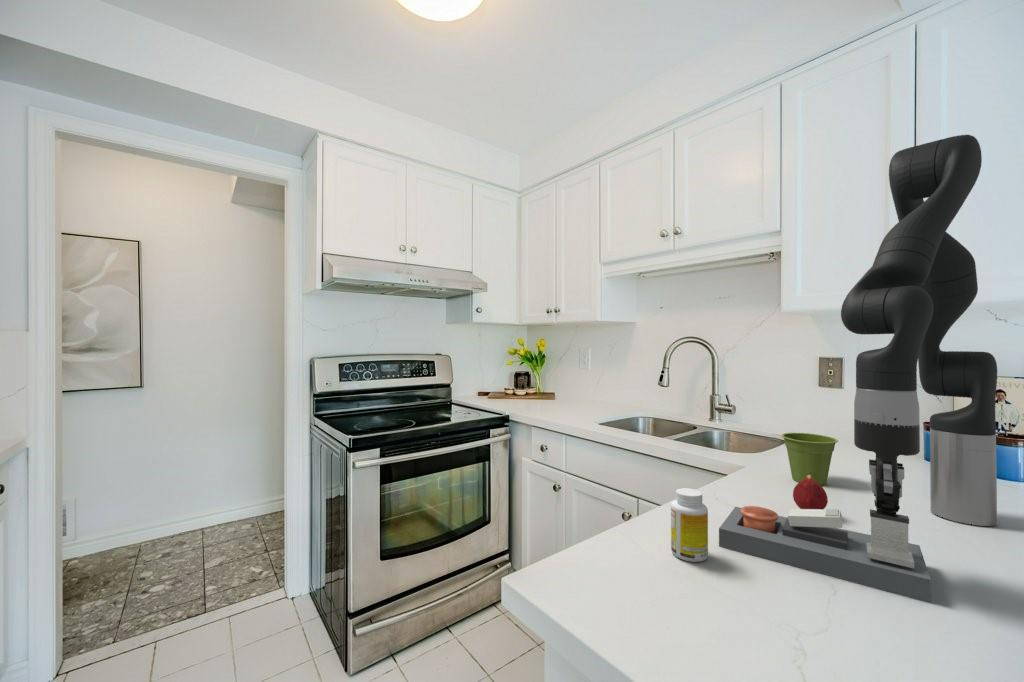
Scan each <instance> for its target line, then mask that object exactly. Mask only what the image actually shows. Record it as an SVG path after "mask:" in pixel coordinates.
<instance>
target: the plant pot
mask: <svg viewBox="0 0 1024 682" xmlns="http://www.w3.org/2000/svg"><path fill="white" fill-rule="evenodd" d="M781 437H782V438H783V440H784V444H785V447H786V452H787V456H788V462H789V467H790V475H791V479H792V480H793V481H795V482H797V483H799V482H801V481H803V480H805V479H806V478H807V476H808V475H811V476H812V477H813V480H814V481H815V482H817V483H818V484H820V485H821V486H824V485H825V484H827V482H828V478H829V473H830V467H831V462H832V457H833V452H834V451H835V446H836V444H837V443H838V442H839V440H838V438H835V437H831V436H828V435H822V434H815V433H808V432H807V433H804V432H785V433H781Z"/></svg>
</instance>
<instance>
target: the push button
mask: <svg viewBox="0 0 1024 682" xmlns="http://www.w3.org/2000/svg"><path fill="white" fill-rule="evenodd" d="M740 508H741V514H742V515H743V516H744V527H748V528H752V529H756V530H760V531H765V532H769V533H773V534H775V521H777V520H778V516H779V513H777V512H776V511H774V510H772V509H769V508H766V507H761V506H758V505H757V506H755V505H746V506H742V507H740Z"/></svg>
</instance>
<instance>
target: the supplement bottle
mask: <svg viewBox="0 0 1024 682" xmlns="http://www.w3.org/2000/svg"><path fill="white" fill-rule="evenodd" d="M708 511H709V510H708V507H707V505H706V504H704V503H703V493H702V492H701V491H700V490H697V489H693V488H688V487H687V488H686V487H682V488H678V489H676V490H675V500H673V501H672V502H671V504H670V550H671V552H672V553H673V555H674V556H675V557H677V558H678V559H681V560H682V561H686V562H691V563H700V562H703V561H705V560H707V558H708V557H709V513H708Z"/></svg>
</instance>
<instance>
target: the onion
mask: <svg viewBox="0 0 1024 682" xmlns="http://www.w3.org/2000/svg"><path fill="white" fill-rule="evenodd" d="M792 497H793V498H792V499H793V501H794V502H795V505H796V506H797V508H798V509H823V510H825V509H826V507H827V505H828V498H829V497H828V496H827V491H826V490H825V489H824V488H823V485H820V484H818V483H817V482H815V481H814V480H813V477H812V476H811V475H808V476H807V478H806V479H805V480H803V481H801V482H797V483H796V485H795V486H794V488H793V490H792Z"/></svg>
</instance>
